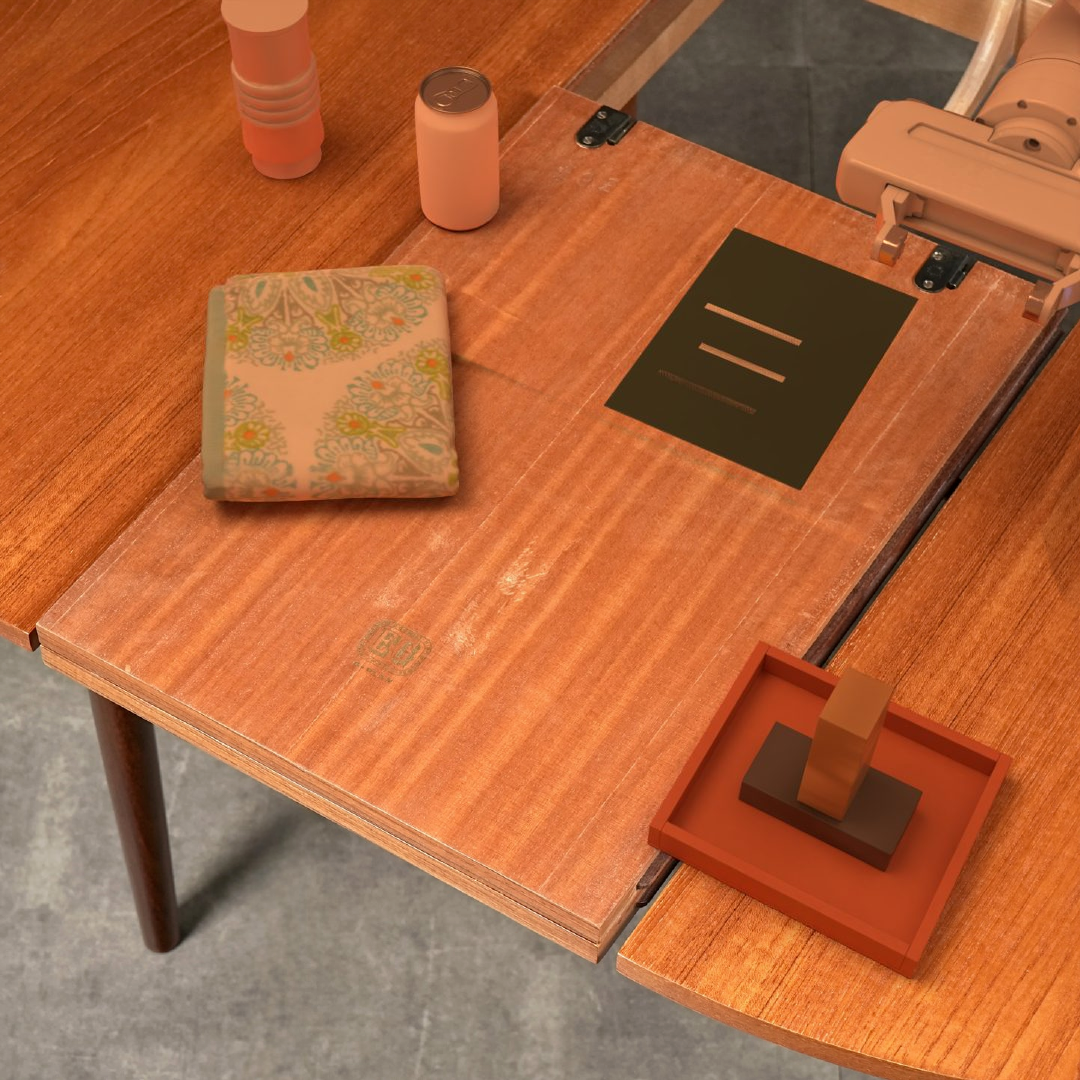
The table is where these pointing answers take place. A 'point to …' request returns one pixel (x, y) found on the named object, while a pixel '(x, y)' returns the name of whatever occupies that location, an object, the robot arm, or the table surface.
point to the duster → (836, 775)
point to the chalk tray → (806, 862)
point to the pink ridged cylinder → (275, 84)
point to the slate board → (763, 357)
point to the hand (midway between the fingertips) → (958, 284)
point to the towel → (329, 386)
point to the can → (457, 148)
